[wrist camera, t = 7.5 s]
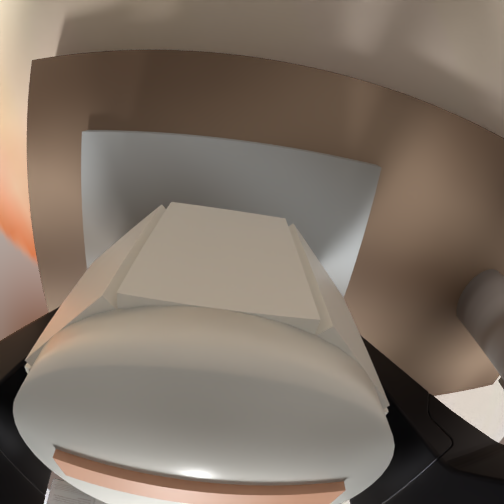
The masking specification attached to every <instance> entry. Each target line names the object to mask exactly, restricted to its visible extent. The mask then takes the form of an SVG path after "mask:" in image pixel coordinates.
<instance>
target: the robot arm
mask: <svg viewBox="0 0 504 504" xmlns="http://www.w3.org/2000/svg"><path fill="white" fill-rule="evenodd" d="M58 309H59V307H58V308H56V309H54V310H52V311H51V312H49V313H47V314H45V315H44V316H42V317H40V318H38V319H37V320H35V321H33V322H31V323H30V324H28V325H26V326H24V327H23V328H21V329H19V330H18V331H16V332H14V333H13V334H11V335H9V336H7V337H6V338H4V339H2V340H1V341H0V504H44V500H45V494H46V491H47V487H48V483H49V479H50V475H51V472H52V470H50V469H49V468H48V467H47V466H46V465H45V464H44V463H43V462H42V461H41V460H39V459H38V458H37V457H36V455H35V454H34V453H33V452H32V451H31V450H30V448H29V447H28V446H27V445H26V443H25V442H24V440H23V438H22V437H21V435H20V433H19V431H18V429H17V426H16V424H15V420H14V416H13V403H14V400H15V397H16V395H17V393H18V391H19V389H20V387H21V385H22V384H23V382H24V380H25V378H26V376H27V375H28V374H27V372H26V369H25V365H26V363H27V362H26V361H25V359H26V358H27V356H28V354H29V353H30V351H31V350H32V348H33V346H34V345H35V343H36V342H37V340H38V339H39V337H40V336H41V334H42V333H43V331H44V329H45V328H46V326H47V325H48V323H49V322H50V321H51V319H52V318H53V316H54V315H55V313H56V312H57V310H58ZM360 336H361V335H360ZM361 338H362V340H363V342H364V345H365V347H366V349H367V352H368V354H369V356H370V359H371V361H372V363H373V366H374V368H375V370H376V373H377V375H378V378H379V380H380V382H381V385H382V387H383V390H384V392H385V395H386V397H387V400H388V402H389V405H390V406H388V407H387V409H388V411H389V412H388V413H387V414H386V418H387V421H388V424H389V426H390V429H391V432H392V435H393V439H394V445H395V447H394V453H393V457H392V459H391V462H390V464H389V466H388V467H387V469H386V470H385V471H384V473H383V474H382V475H381V476H380V477H379V478H378V479H377V480H376V481H375V482H374V483H373V484H372V485H370V486H369V487H368V488H366V489H365V490H364V491H362V492H361V493H359V494H358V495H356V496H355V497H353V498H351V499H350V504H504V445H502V444H500V443H498V442H496V441H494V440H493V439H491V438H490V437H488V436H487V435H485V434H484V433H482V432H481V431H480V430H478V429H477V428H475V427H474V426H472V425H471V424H469V423H468V422H467V421H465V420H464V419H462V418H461V417H460V416H458V415H457V414H456V413H454V412H453V411H451V410H450V409H449V408H448V407H446V406H445V405H444V404H443V403H441V402H440V401H439V400H438V399H437V398H435V397H434V396H433V395H432V394H429V392H428V391H427V390H426V389H425V388H423V387H422V386H421V385H420V384H419V383H417V382H416V381H415V380H414V379H413V378H411V377H410V376H409V375H408V374H407V373H405V372H404V371H403V370H402V369H401V368H399V367H398V366H397V365H396V364H395V363H393V362H392V361H391V360H390V359H389V358H387V357H386V356H385V355H384V354H383V353H381V352H380V351H379V350H378V349H377V348H375V347H374V346H373V345H372V344H371V343H369V342H368V341H367V340H366V339H365V338H363V337H362V336H361Z"/></svg>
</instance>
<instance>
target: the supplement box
mask: <svg viewBox="0 0 504 504" xmlns="http://www.w3.org/2000/svg"><path fill="white" fill-rule="evenodd" d="M47 504H107V503H105V502H103V501H100V500H98V499H96V498H94V497H92V496H90V495H88V494H86V493H84V492H83V491H81V490H79V489H77V488H76V487H74V486H73V485H71V484H69V483H68V482H66V481H63V480H59V479H54V480H53V482H52V486H51V489H50V493H49V497H48V500H47Z"/></svg>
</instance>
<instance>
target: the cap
mask: <svg viewBox="0 0 504 504" xmlns="http://www.w3.org/2000/svg"><path fill="white" fill-rule="evenodd" d="M25 361H26V362H27V363H26V365H25V369H26V372H27V374H28V375H27V376H26V378H25V380H24V382H23V384H22V385H21V387H20V389H19V391H18V393H17V395H16V397H15V400H14V403H13V416H14V420H15V424H16V426H17V429H18V431H19V433H20V435H21V437H22V438H23V440H24V442H25V443H26V445H27V446H28V447H29V448H30V450H31V451H32V452H33V453H34V454H35V455H36V457H37V458H38V459H39V460H41V461H42V462H43V463H44V464H45V465H46V466H47V467H48V468H49V469H50V470H52V471H53V472H54V473H55V474H57V475H58V476H59V477H61V478H62V479H64V480H65V481H66V482H68V483H69V484H71V485H73V486H74V487H76V488H77V489H79V490H81V491H83V492H84V493H86V494H88V495H90V496H92V497H94V498H96V499H98V500H100V501H103V502H105V503H107V504H342V503H344V502H346V501H347V500H349V499H351V498H353V497H355V496H356V495H358V494H359V493H361V492H362V491H364V490H365V489H366V488H368V487H369V486H370V485H372V484H373V483H374V482H375V481H376V480H377V479H378V478H379V477H380V476H381V475H382V474H383V473H384V471H385V470H386V469H387V467H388V466H389V464H390V462H391V459H392V457H393V453H394V447H395V445H394V439H393V435H392V432H391V429H390V426H389V424H388V421H387V418H386V414H387V413H388V412H389V411H388V409H387V407H388V406H390V405H389V402H388V400H387V397H386V395H385V392H384V390H383V387H382V385H381V382H380V380H379V378H378V375H377V373H376V370H375V368H374V366H373V363H372V361H371V359H370V356H369V354H368V352H367V349H366V347H365V345H364V342H363V340H362V338H361V336H360V333H359V331H358V329H357V327H356V324H355V322H354V320H353V318H352V316H351V313H350V311H349V309H348V307H347V305H346V302H345V300H344V298H343V297H342V295H341V293H340V292H339V290H338V289H337V287H336V286H335V284H334V283H333V281H332V280H331V278H330V277H329V275H328V274H327V272H326V271H325V269H324V268H323V266H322V265H321V263H320V262H319V260H318V259H317V257H316V256H315V254H314V253H313V251H312V250H311V248H310V247H309V245H308V244H307V242H306V241H305V239H304V238H303V236H302V235H301V234H300V232H299V231H298V229H297V228H296V226H295V225H294V223H293V224H292V225H290V226H289V227H288V224H287V221H286V219H285V218H280V217H273V216H267V215H261V214H254V213H247V212H241V211H234V210H227V209H220V208H213V207H206V206H199V205H192V204H184V203H177V202H171V203H170V204H169V206H168V207H167V209H165V207H164V206H163V205H160V206H159V207H158V208H157V209H155V210H154V211H153V212H152V213H150V214H149V215H148V216H147V217H145V218H144V219H143V220H142V221H141V222H139V223H138V224H137V225H136V226H135V227H133V228H132V229H131V230H130V231H129V232H127V233H126V234H125V235H124V236H123V237H122V238H120V239H119V240H118V241H117V242H116V243H115V244H113V245H112V246H111V247H110V248H109V249H108V250H107V251H105V252H104V253H103V254H102V255H101V256H100V257H99V258H97V259H96V260H95V261H94V262H93V263H92V264H91V265H90V267H89V268H88V269H87V271H86V272H85V273H84V275H83V276H82V277H81V279H80V280H79V281H78V283H77V284H76V285H75V287H74V288H73V289H72V291H71V292H70V293H69V295H68V296H67V298H66V299H65V300H64V302H63V303H62V305H61V306H60V307H59V309H58V310H57V312H56V313H55V315H54V316H53V318H52V319H51V321H50V322H49V323H48V325H47V326H46V328H45V329H44V331H43V333H42V334H41V336H40V337H39V339H38V340H37V342H36V343H35V345H34V346H33V348H32V350H31V351H30V353H29V354H28V356H27V358H26V359H25Z"/></svg>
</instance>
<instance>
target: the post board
mask: <svg viewBox="0 0 504 504" xmlns="http://www.w3.org/2000/svg"><path fill="white" fill-rule="evenodd" d="M27 171H28V188H29V201H30V211H31V220H32V229H33V236H34V243H35V249H36V255H37V261H38V267H39V272H40V277H41V281H42V287H43V291H44V296H45V300H46V304H47V308H48V312H51V311H52V310H54V309H56V308H58V307H60V306H61V305H62V303H63V302H64V300H65V299H66V298H67V296H68V295H69V293H70V292H71V291H72V289H73V288H74V287H75V285H76V284H77V283H78V281H79V280H80V279H81V277H82V276H83V275H84V273H85V272H86V271H87V269H88V268H89V267H90V265H91V264H92V263H93V262H94V261H95V260H96V259H97V258H99V257H100V256H101V255H102V254H103V253H104V252H105V251H107V250H108V249H109V248H110V247H111V246H112V245H113V244H115V243H116V242H117V241H118V240H119V239H120V238H122V237H123V236H124V235H125V234H126V233H127V232H129V231H130V230H131V229H132V228H133V227H135V226H136V225H137V224H138V223H139V222H141V221H142V220H143V219H144V218H145V217H147V216H148V215H149V214H150V213H152V212H153V211H154V210H155V209H157V208H158V207H159V206H160V205H163V206H164V207H165V209H167V207H168V206H169V204H170V203H171V202H177V203H184V204H192V205H199V206H206V207H213V208H220V209H227V210H234V211H241V212H247V213H254V214H261V215H267V216H273V217H280V218H285V219H286V221H287V224H288V227H289V226H290V225H292V224H293V223H294V225H295V226H296V228H297V229H298V231H299V232H300V234H301V235H302V236H303V238H304V239H305V241H306V242H307V244H308V245H309V247H310V248H311V250H312V251H313V253H314V254H315V256H316V257H317V259H318V260H319V262H320V263H321V265H322V266H323V268H324V269H325V271H326V272H327V274H328V275H329V277H330V278H331V280H332V281H333V283H334V284H335V286H336V287H337V289H338V290H339V292H340V293H341V295H342V297H343V298H344V300H345V302H346V305H347V307H348V309H349V311H350V313H351V316H352V318H353V320H354V322H355V324H356V327H357V329H358V331H359V333H360V335H361V336H362V337H363V338H365V339H366V340H367V341H368V342H369V343H371V344H372V345H373V346H374V347H375V348H377V349H378V350H379V351H380V352H381V353H383V354H384V355H385V356H386V357H387V358H389V359H390V360H391V361H392V362H393V363H395V364H396V365H397V366H398V367H399V368H401V369H402V370H403V371H404V372H405V373H407V374H408V375H409V376H410V377H411V378H413V379H414V380H415V381H416V382H417V383H419V384H420V385H421V386H422V387H423V388H425V389H426V390H427V391H428V392H429V394H432V395H433V396H436V395H442V394H448V393H453V392H459V391H464V390H469V389H474V388H479V387H483V386H488V385H492V384H493V383H494V382H495V381H496V379H497V378H498V377H499V375H500V376H501V378H500V379H499V383H500V384H501V386H502V387H503V389H504V138H502V137H500V136H498V135H496V134H495V133H493V132H491V131H489V130H487V129H485V128H483V127H481V126H479V125H477V124H475V123H473V122H471V121H469V120H466V119H464V118H462V117H460V116H458V115H455V114H453V113H451V112H449V111H446V110H444V109H442V108H439V107H437V106H434V105H432V104H430V103H427V102H424V101H422V100H419V99H417V98H414V97H411V96H409V95H406V94H403V93H400V92H397V91H394V90H391V89H388V88H385V87H382V86H379V85H376V84H373V83H369V82H366V81H363V80H359V79H356V78H352V77H348V76H345V75H341V74H337V73H333V72H329V71H325V70H321V69H316V68H312V67H307V66H302V65H297V64H292V63H287V62H281V61H275V60H269V59H263V58H256V57H249V56H241V55H232V54H223V53H212V52H198V51H179V50H123V51H104V52H91V53H81V54H71V55H63V56H56V57H49V58H43V59H37V60H32V66H31V74H30V84H29V96H28V113H27Z"/></svg>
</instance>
